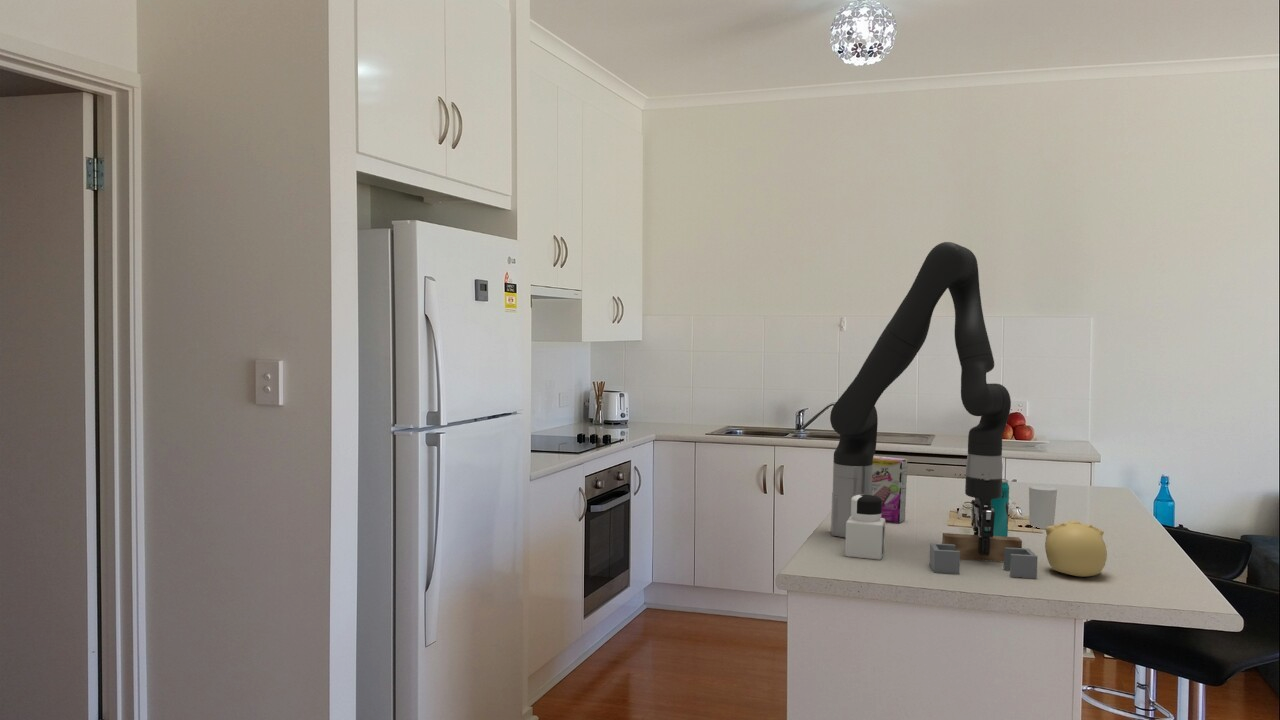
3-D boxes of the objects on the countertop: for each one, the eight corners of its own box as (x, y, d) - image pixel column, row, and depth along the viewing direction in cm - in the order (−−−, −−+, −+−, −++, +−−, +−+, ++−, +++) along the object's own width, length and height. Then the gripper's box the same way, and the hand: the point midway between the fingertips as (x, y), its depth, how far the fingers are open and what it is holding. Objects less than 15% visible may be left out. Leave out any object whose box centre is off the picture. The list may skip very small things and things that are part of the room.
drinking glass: (1056, 530, 242) (1058, 491, 242) (1028, 528, 244) (1029, 489, 244) (1054, 525, 248) (1055, 487, 248) (1026, 523, 251) (1028, 485, 250)
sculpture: (1097, 568, 203) (1099, 518, 203) (1112, 583, 192) (1114, 529, 191) (1040, 564, 206) (1041, 514, 206) (1050, 578, 194) (1052, 525, 194)
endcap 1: (933, 572, 197) (934, 550, 197) (929, 564, 204) (930, 543, 204) (959, 573, 196) (960, 552, 196) (953, 565, 203) (954, 544, 203)
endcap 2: (1028, 570, 201) (1029, 548, 201) (1036, 578, 194) (1037, 556, 194) (1003, 568, 202) (1004, 547, 201) (1010, 577, 195) (1011, 555, 195)
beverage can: (1009, 546, 223) (1011, 482, 222) (983, 544, 224) (985, 480, 223) (1004, 541, 228) (1007, 478, 228) (979, 539, 230) (981, 477, 229)
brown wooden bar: (943, 559, 210) (944, 536, 210) (941, 555, 214) (942, 533, 213) (1021, 563, 207) (1021, 540, 207) (1017, 559, 211) (1018, 537, 211)
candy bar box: (857, 518, 252) (859, 456, 251) (864, 515, 256) (866, 454, 255) (900, 524, 246) (902, 460, 245) (905, 521, 250) (908, 458, 249)
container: (884, 552, 214) (886, 494, 213) (881, 560, 207) (883, 500, 206) (849, 549, 216) (850, 491, 216) (844, 556, 209) (846, 497, 209)
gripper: (960, 469, 218) (958, 543, 218) (971, 479, 203) (969, 558, 204) (995, 470, 216) (992, 545, 217) (1009, 480, 202) (1006, 560, 203)
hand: (981, 551), depth 210 cm, fingers open, 5 cm apart
